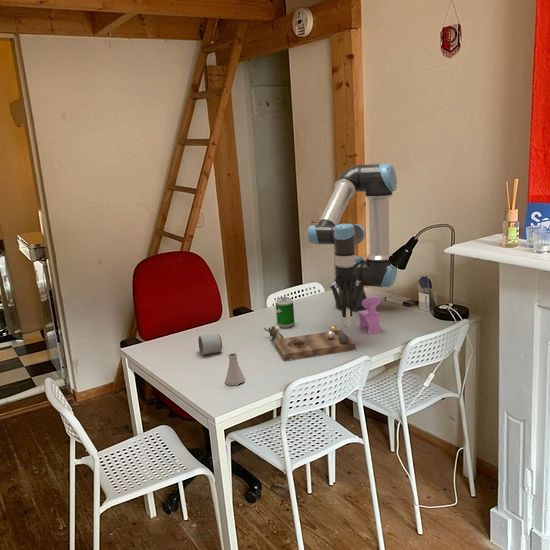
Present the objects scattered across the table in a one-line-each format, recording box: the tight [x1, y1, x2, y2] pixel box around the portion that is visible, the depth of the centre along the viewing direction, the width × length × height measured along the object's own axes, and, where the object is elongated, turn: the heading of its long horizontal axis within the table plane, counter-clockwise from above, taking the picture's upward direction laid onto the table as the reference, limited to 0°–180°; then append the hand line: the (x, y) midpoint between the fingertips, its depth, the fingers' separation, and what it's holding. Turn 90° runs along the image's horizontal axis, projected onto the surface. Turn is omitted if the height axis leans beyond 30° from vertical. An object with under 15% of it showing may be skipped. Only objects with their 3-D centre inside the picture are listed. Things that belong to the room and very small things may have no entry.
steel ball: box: [327, 330, 335, 339], centre depth 223 cm, size 3×3×3 cm
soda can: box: [275, 296, 295, 329], centre depth 248 cm, size 8×8×12 cm
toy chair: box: [358, 295, 383, 335], centre depth 236 cm, size 8×9×15 cm
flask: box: [224, 352, 246, 386], centre depth 196 cm, size 7×7×10 cm
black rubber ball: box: [338, 332, 349, 343], centre depth 218 cm, size 4×4×4 cm
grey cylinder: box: [197, 333, 223, 356], centre depth 226 cm, size 11×8×8 cm
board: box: [273, 329, 357, 361], centre depth 222 cm, size 28×16×2 cm, turn 103°
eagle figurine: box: [263, 324, 284, 342], centre depth 233 cm, size 8×7×9 cm
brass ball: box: [329, 325, 338, 333], centre depth 229 cm, size 3×3×3 cm
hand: (347, 324), depth 223 cm, fingers closed
